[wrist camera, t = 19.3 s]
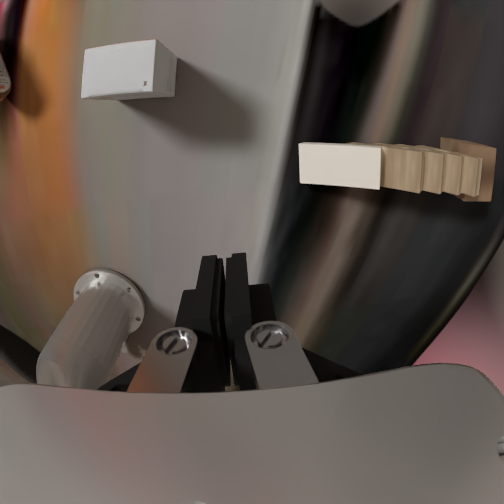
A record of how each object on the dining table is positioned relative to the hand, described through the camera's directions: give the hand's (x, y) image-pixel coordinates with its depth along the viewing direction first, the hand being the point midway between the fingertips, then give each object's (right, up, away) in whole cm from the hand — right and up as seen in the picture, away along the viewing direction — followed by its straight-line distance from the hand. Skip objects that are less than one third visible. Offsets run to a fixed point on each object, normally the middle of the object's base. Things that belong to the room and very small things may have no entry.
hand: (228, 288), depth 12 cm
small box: (-12, +23, +21) cm, 34 cm away
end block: (+32, +15, +27) cm, 45 cm away
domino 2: (+14, +13, +26) cm, 32 cm away
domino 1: (+7, +13, +26) cm, 30 cm away
